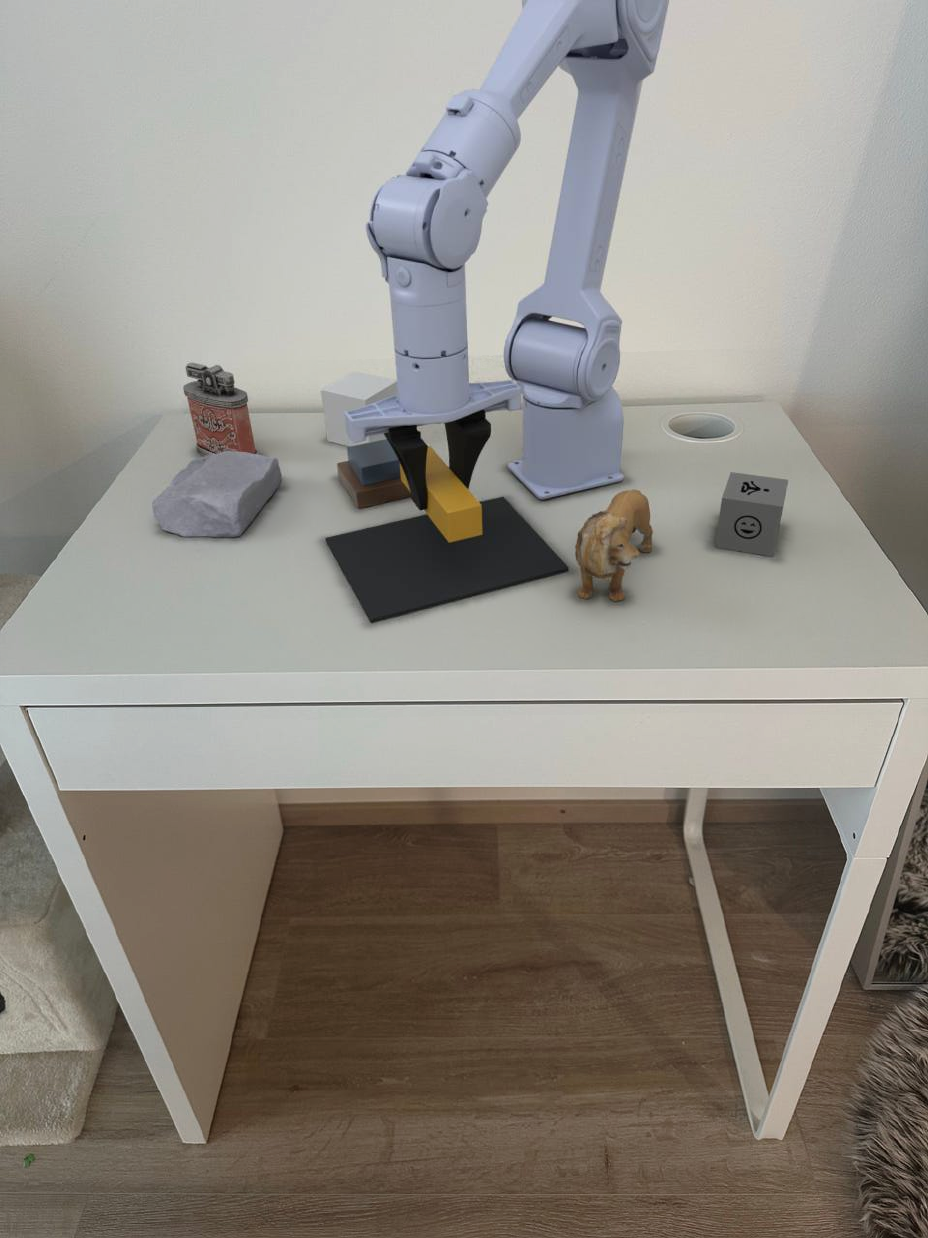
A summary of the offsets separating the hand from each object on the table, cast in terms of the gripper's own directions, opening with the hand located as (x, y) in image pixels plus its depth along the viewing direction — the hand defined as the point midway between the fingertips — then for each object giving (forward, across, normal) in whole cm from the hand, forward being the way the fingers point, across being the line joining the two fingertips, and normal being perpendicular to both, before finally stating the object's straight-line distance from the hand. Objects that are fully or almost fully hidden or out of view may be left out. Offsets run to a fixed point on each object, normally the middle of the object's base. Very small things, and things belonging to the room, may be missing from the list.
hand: (439, 500), depth 80 cm
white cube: (+6, -1, -27) cm, 28 cm away
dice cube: (+6, -26, +9) cm, 28 cm away
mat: (+6, 0, 0) cm, 6 cm away
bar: (+1, 0, 0) cm, 1 cm away
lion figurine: (+6, -12, +10) cm, 17 cm away
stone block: (+6, +17, -18) cm, 25 cm away
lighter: (+6, +14, -29) cm, 33 cm away
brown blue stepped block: (+6, +1, -15) cm, 16 cm away
